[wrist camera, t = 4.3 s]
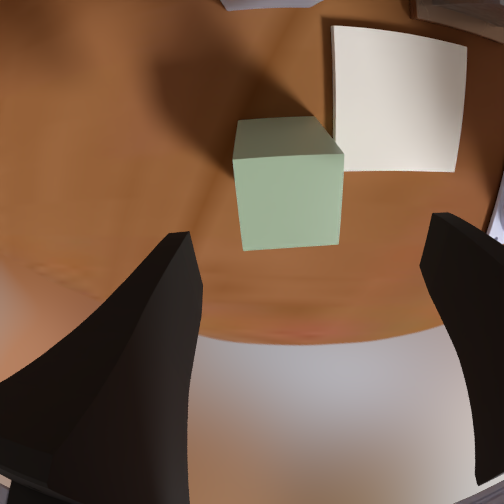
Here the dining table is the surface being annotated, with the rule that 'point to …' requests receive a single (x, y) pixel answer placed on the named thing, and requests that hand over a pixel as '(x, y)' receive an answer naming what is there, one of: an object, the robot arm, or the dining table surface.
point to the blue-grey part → (266, 4)
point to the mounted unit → (463, 16)
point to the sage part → (287, 183)
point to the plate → (397, 100)
